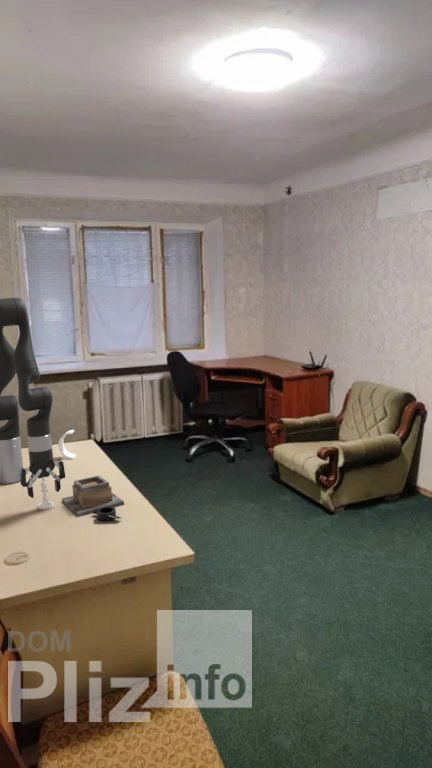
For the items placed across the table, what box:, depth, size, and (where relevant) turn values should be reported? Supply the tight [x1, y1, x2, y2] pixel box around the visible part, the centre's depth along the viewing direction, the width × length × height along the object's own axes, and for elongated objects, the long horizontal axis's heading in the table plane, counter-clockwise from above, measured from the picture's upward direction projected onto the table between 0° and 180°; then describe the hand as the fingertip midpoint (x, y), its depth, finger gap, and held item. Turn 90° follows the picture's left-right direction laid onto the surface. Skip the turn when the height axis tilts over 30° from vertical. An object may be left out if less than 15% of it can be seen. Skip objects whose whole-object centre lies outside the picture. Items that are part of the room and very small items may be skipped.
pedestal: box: [61, 475, 125, 517], centre depth 183 cm, size 16×16×8 cm
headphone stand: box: [57, 429, 77, 460], centre depth 234 cm, size 5×6×12 cm
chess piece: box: [37, 477, 54, 510], centre depth 181 cm, size 5×5×10 cm
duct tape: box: [91, 507, 122, 523], centre depth 170 cm, size 8×10×3 cm
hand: (44, 494), depth 181 cm, fingers open, 8 cm apart
